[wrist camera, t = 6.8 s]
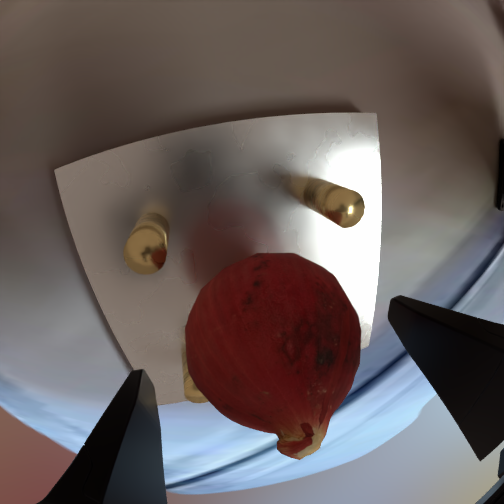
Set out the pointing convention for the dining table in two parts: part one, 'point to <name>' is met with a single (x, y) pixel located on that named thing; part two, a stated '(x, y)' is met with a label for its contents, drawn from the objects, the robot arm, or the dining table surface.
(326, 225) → the plate
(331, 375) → the red rounded piece
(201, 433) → the dining table surface
